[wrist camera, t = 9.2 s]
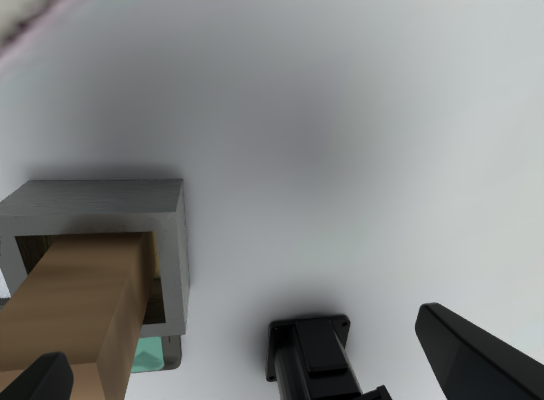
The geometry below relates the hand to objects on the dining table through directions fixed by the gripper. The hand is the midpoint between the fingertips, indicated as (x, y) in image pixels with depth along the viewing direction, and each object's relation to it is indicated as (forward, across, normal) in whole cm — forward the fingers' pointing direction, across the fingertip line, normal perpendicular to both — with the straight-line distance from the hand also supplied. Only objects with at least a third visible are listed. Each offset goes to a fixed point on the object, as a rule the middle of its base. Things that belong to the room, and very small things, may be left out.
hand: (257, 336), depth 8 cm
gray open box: (+12, +7, +4) cm, 15 cm away
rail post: (+12, +7, +4) cm, 14 cm away
